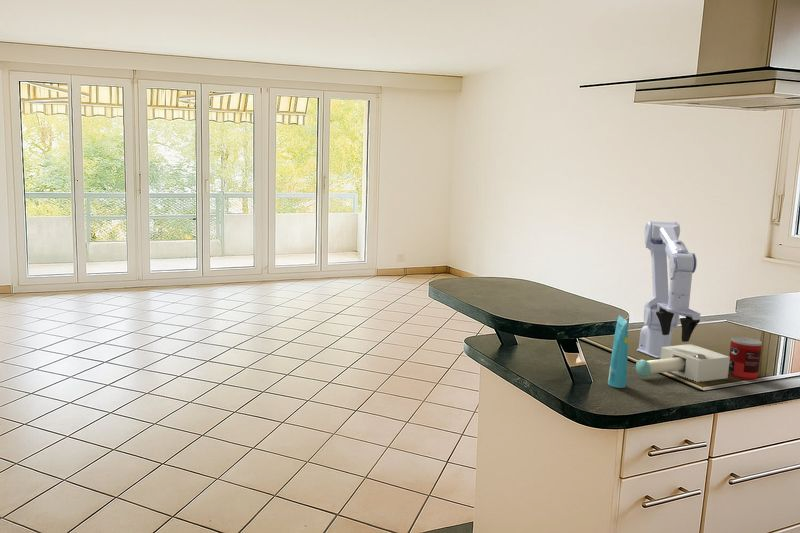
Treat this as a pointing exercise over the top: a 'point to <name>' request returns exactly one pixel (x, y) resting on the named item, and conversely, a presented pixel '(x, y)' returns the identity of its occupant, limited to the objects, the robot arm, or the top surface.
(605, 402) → the top surface
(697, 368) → the housing
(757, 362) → the canned food
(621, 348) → the tube
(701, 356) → the plunger
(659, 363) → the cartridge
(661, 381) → the top surface
